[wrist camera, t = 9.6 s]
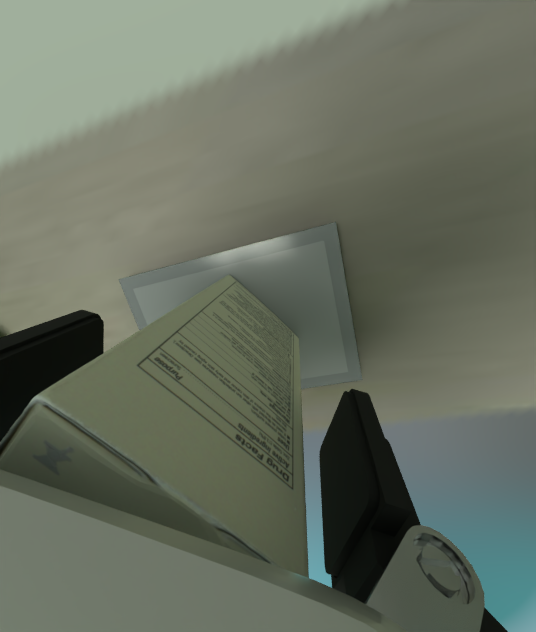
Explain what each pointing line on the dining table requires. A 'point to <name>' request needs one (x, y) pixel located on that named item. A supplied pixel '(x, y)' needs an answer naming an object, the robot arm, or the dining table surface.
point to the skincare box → (184, 428)
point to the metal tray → (272, 295)
